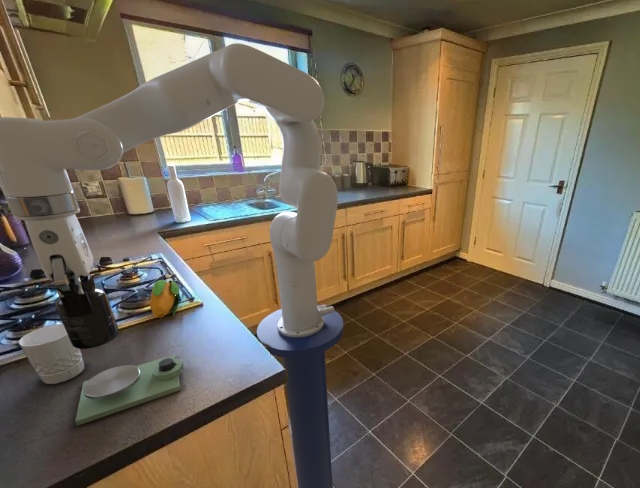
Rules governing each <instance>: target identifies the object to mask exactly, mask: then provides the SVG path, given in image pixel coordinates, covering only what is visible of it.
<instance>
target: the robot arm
mask: <svg viewBox="0 0 640 488" xmlns="http://www.w3.org/2000/svg"><path fill="white" fill-rule="evenodd" d="M320 85H321V84H319V82H318V81H317V80H316V79H315V77H313V76H311V75H310V74H309V73H308V72H306V71H304V70H302V69H300V68H297V67H295V66H293V65H291V64H289V63H286V62H285V61H282V60H281V59H279V58H276V57H275V56H273V55H271V54H269V53H266V52H264V51H262V50H259V49H258V48H255V47H253V46H250V45H247V44H244V43H231V44H228V45H226V46H223V47H221V48H219V49H217V50H214V51H213V52H210V53H207V54H206V55H203V56H201V57H199V58H197V59H195V60H192V61H190V62H187V63H185V64H183V65H180V66H179V67H176V68H174V69H173V70H169V71H167V72H165V73H162V74H160V75H157V76H155V77H153V78H151V79H149V80H148V81H145V82H143V83H142V84H141V85H139V86H138V87H136V88H135V89H133V90H132V91H130V92H128V93H127V94H125V95H123V96H120V97H119V98H116V99H115V100H113V101H111V102H108V103H106V104H103V105H101V106H99V107H97V108H95V109H93V110H90V111H88V112H85V113H83V114H81V115H78V116H76V117H74V118H66V119H55V120H54V119H52V120H41V119H37V118H31V117H13V116H11V117H8V116H0V189H1V191H2V193H3V195H4V198H5V200H6V203H7V205H8V207H9V209H10V213H11V214H12V216H13V219H14V220H18V221H24V223H25V227H26V229H27V232H28V233H27V234H28V235H29V238H30V241H31V244H32V246H33V250H34V252H35V254H36V255H35V256H36V257H37V260H38V263H39V264H40V266H41V269H42V271H43V273H44V275H45V277H46V279H47V280H49V281H51V282H54V285H56V286H57V288H56V290H58V293H59V295H58V297H59V298H60V299H61V302H62V304H63V307H64V309H65V311H66V314H67V316H68V318H75V317H80V316H85V315H89V314H92V313H93V308H92V306H91V303H90V300H89V298H88V295H87V292H83V288H82V284H81V280H80V276H81V275H83V276H87V275H89V276H90V273H91V270H92V268H93V264H94V255H93V253H92V251H91V248H90V246H89V244H88V240H87V239H86V236H85V233H84V231H83V228H82V226H81V224H80V222H79V220H78V217H77V214H79V213H81V209H80V206H79V203H78V201H77V198H76V197H77V196H76V195H75V191H74V188H73V186H72V183H71V180H70V177H69V174H68V171H67V170H81V171H105V170H106V171H107V170H109V169H111V168H113V167H115V166H117V165H118V164H119V162H121V159H122V158H123V154H125V153H126V152H129V151H131V150H132V149H134V148H137V147H138V146H140V145H141V146H142V145H143V144H145V143H147V142H149V141H151V140H154V139H157V138H159V137H163V136H166V135H167V136H168V135H172V134H177V133H180V132H183V131H185V130H188V129H191V128H193V127H195V126H197V125H198V124H200V123H202V122H204V121H206V120H208V119H209V118H212V117H214V116H216V115H217V114H219V113H221V112H224V111H225V110H227V109H230V108H231V107H232V106H233V107H234V106H235V105H237V104H239V103H241V102H243V101H251V102H253V103H256V104H258V105H260V106H262V107H263V108H264V109H265V111H266V113H267V115H269V116H270V118H271V119H272V120H273V121H274V122H275V124H276V125H277V127H278V129H279V131H280V135H281V137H282V156H281V157H282V158H281V167H280V175H279V176H280V177H279V185H278V192H279V196H280V198H281V200H282V201H283V202H284V203H285V204H287V205H288V206H290V207H293V208H295V209H296V212H295V211H283V212H281V213H279V214H276V216H274V218H273V219H272V221H271V223H270V226H269V239H270V243H271V248H272V251H273V255H274V260H275V265H276V266H275V267H276V273H277V284H278V291H279V300H280V309H281V310H282V318H281V319H280V320H279V321H278V323H277V327H278V331H279V332H280V333H281V334H283V335H284V336H287V337H293V338H300V337H307V336H310V335H313V334H315V333H317V332H318V331H320V330H321V329H322V327H323V326H324V318H323V317H324V316H325V315H326V314H330V313H333V312H334V310H335V307H334V306H333V305H330V306H327V305H326V304H321V306H317V305H318V295H317V294H318V293H317V292H318V291H317V279H316V278H317V277H316V263H315V262H318V261H320V260H321V259H323V258H324V257H325V256H326V255H327V253H328V252H329V250H330V248H331V245H332V240H333V236H334V230H335V224H336V217H337V210H338V204H339V193H338V188H337V185H336V182H335V181H334V179H333V178H332V177H331V176H330V174H328V173H327V172H324V171H322V170H320V168H321V167H320V165H321V154H322V140H321V136H320V132H319V129H318V127H317V125H316V122H315V121H314V120H316V119H317V118H318V117H319V116H320V115H321V114H322V112H323V110H324V107H325V94H324V92H323V89H322V87H321V86H320ZM71 280H75V284H76V286H75V284H73V283H69V281H71ZM56 286H55V287H56ZM58 293H57V294H58ZM326 307H327V308H326Z"/></svg>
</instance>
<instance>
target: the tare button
mask: <svg viewBox="0 0 640 488" xmlns="http://www.w3.org/2000/svg"><path fill="white" fill-rule="evenodd" d="M174 366H175V365H174V362H173V359H171V358H167V359H163V360H162V361H160V362H159V368H160V371H162V372H166V371H169V370H171V369H173V368H174Z"/></svg>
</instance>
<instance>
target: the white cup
mask: <svg viewBox="0 0 640 488" xmlns="http://www.w3.org/2000/svg"><path fill="white" fill-rule="evenodd" d="M18 345H19V346H20V349H21V350H22V351H23V353H24V354H25V356H26V358H27V360H28V362H29V363H30V365H31V366H32V367H33V369H34V371H35V372H36V373H37V374H38V376H39V378H40V380H41V381H42V383H44V384H46V385H55V384H59V383H64V382H66V381H69V380H71V379H74V378H75V377H77V376H78V375H80V374H81V373H82V372H83V371H84V370H85V362H84V359H83V354H82V351H81V349H78V348H75V347H74V346H72V344H71V342H70V340H69V337H68V335H67V333H66V330H65V328H64V326H63V323H57V324H51V325H46V326H43V327H40V328H37V329H35V330H32V331H30V332H29V333H26V334H25V335H23V336H22V337H21V338H20V339H18Z"/></svg>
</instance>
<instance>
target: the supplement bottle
mask: <svg viewBox="0 0 640 488" xmlns="http://www.w3.org/2000/svg"><path fill="white" fill-rule="evenodd" d="M80 280H81V284H82V288H83V292H87V295H88V298H89V300H90V303H91V306H92V308H93V313H92V314H89V315H85V316H80V317H75V318H68V316H67V314H66V311H65V309H64V307H63V304H62V302H61V299H60V297H58V298H57V300H56V302H55V304H54V306H55V309H56V311H57V314H58V316H59V318H60V321H61V324H63V326H64V328H65V330H66V333H67V335H68V337H69V340H70V342H71V344H72V346H74V347H75V348H78V349H80V350H88V349H89V350H90V349H95V348H98V347H101V346H103V345H106V344H108V343H110V342H112V341H114V339H116V338H117V337H118V335H119V334H120V333H119V332H120V329H119V326H118V323H117V320H116V318H115V315H114V312H113V309H112V306H111V303H110V300H109V298H108V297H109V296H108V295H107V293H106V292H105V290H102V289H101V288H96V287H97V285H96V282H95V280H94V278H93V276H92V275H90V274H89V275H87V276H83V275H81V276H80ZM69 283H73V284H75V280H71V281H69ZM54 285H55V284H54ZM75 286H76V284H75ZM55 288H56V290H57V286H56V285H55ZM56 293H57V294H58V296H59V293H58V290H57V291H56Z"/></svg>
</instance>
